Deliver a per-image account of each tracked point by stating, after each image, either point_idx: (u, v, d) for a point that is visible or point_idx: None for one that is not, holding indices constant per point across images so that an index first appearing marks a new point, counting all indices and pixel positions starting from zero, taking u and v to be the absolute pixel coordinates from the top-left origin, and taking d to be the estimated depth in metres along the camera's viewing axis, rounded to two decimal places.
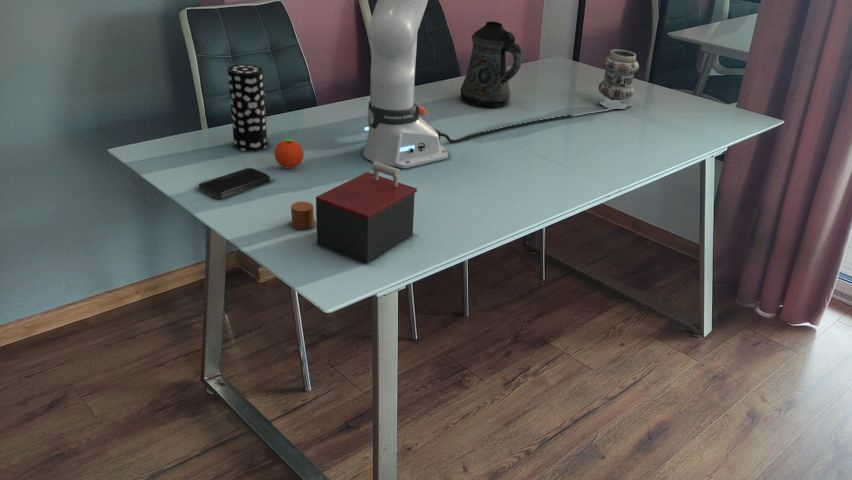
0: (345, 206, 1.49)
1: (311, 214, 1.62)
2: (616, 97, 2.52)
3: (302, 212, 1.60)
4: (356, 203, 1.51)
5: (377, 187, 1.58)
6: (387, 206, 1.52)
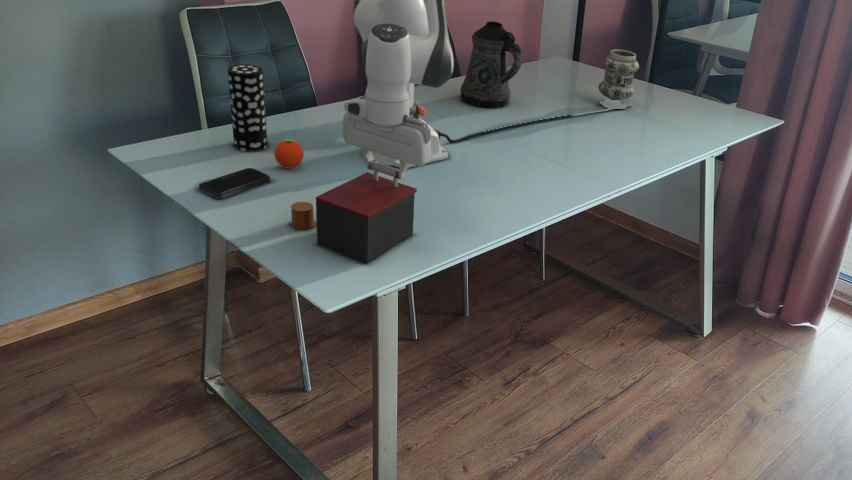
0: (345, 206, 1.49)
1: (311, 214, 1.62)
2: (616, 97, 2.52)
3: (302, 212, 1.60)
4: (356, 203, 1.51)
5: (377, 187, 1.58)
6: (387, 206, 1.52)
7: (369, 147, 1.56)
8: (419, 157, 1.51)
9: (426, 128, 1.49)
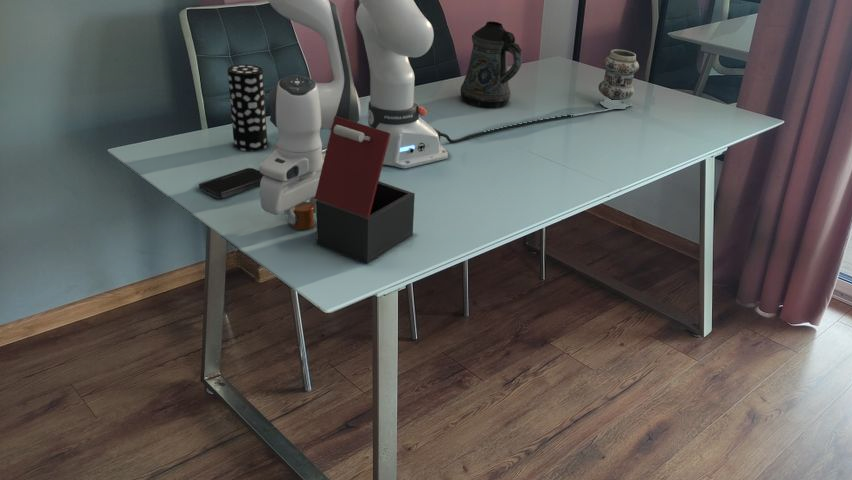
0: (343, 206, 1.49)
1: (311, 214, 1.62)
2: (616, 97, 2.52)
3: (302, 212, 1.60)
4: (350, 196, 1.48)
5: (354, 149, 1.47)
6: (376, 186, 1.46)
7: (298, 201, 1.57)
8: None
9: None
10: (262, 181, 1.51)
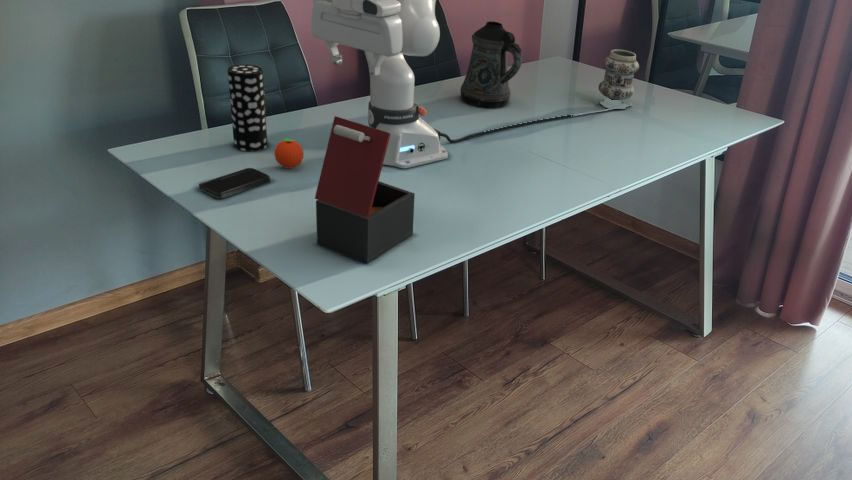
0: (343, 206, 1.49)
1: None
2: (616, 97, 2.52)
3: None
4: (350, 196, 1.48)
5: (354, 149, 1.47)
6: (376, 186, 1.46)
7: None
8: None
9: None
10: (388, 23, 1.42)
